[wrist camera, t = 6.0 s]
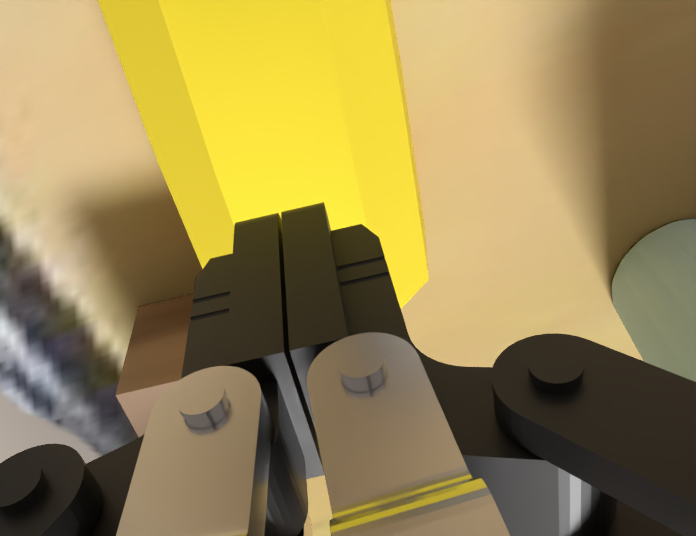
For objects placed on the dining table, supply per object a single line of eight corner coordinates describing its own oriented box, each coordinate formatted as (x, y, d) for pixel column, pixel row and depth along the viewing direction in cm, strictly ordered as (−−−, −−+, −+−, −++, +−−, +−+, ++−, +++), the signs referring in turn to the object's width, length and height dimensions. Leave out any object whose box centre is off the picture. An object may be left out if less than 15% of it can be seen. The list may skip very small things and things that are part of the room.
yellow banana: (331, -308, 16) (36, -236, 17) (369, -392, 11) (-78, -281, 11) (426, 272, 26) (240, 315, 26) (471, 386, 21) (234, 440, 21)
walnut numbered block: (139, 305, 25) (114, 399, 21) (263, 276, 25) (265, 364, 21) (182, 396, 28) (168, 496, 24) (295, 369, 28) (301, 465, 24)
